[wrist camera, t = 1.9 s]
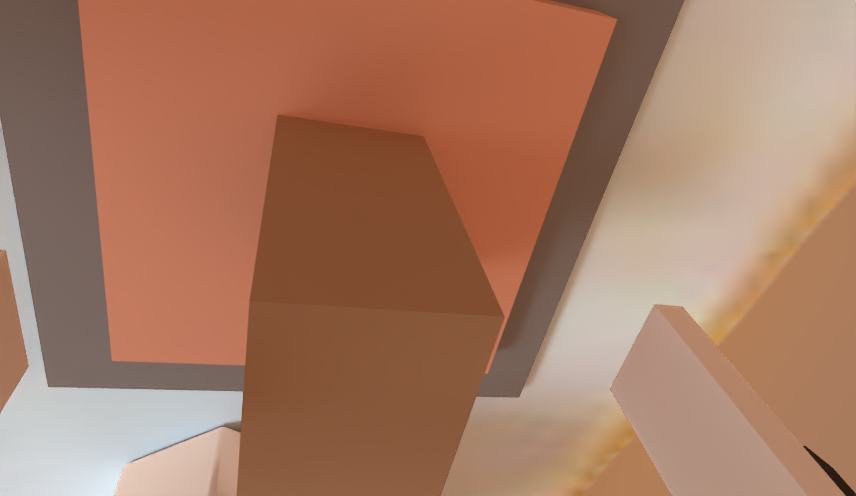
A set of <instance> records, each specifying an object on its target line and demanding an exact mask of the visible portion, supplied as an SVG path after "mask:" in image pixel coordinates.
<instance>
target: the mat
mask: <svg viewBox="0 0 856 496" xmlns="http://www.w3.org/2000/svg"><path fill="white" fill-rule="evenodd" d="M551 1H556V2H560V3H565V4H569V5H573V6H578V7H582V8H587V9H591V10H595V11H599V12H601V13H604V14H606V15H608V16H611V17H613V18H615V19H617V22H616V24H615V27H614V30H613V33H612V35H611V38H610V41H609V44H608V46H607V49H606V52H605V54H604V57H603V60H602V63H601V65H600V68H599V71H598V74H597V76H596V79H595V82H594V85H593V87H592V90H591V93H590V95H589V98H588V101H587V104H586V106H585V109H584V112H583V115H582V117H581V120H580V123H579V126H578V128H577V131H576V134H575V137H574V139H573V142H572V145H571V147H570V150H569V153H568V156H567V158H566V161H565V164H564V167H563V169H562V172H561V175H560V178H559V180H558V183H557V186H556V189H555V191H554V194H553V197H552V199H551V202H550V205H549V208H548V210H547V213H546V216H545V219H544V221H543V224H542V227H541V230H540V232H539V235H538V238H537V240H536V243H535V246H534V249H533V251H532V254H531V257H530V260H529V262H528V265H527V268H526V271H525V273H524V276H523V279H522V282H521V284H520V287H519V290H518V292H517V295H516V298H515V301H514V303H513V306H512V309H511V312H510V314H509V317H508V320H507V323H506V325H505V328H504V331H503V333H502V336H501V339H500V342H499V344H498V347H497V350H496V353H495V355H494V358H493V361H492V364H491V366H490V369H489V372H488V374H484V376H483V379H482V382H481V385H480V387H479V390H478V393H477V396H476V397H519V396H520V394H521V391H522V389H523V387H524V384H525V382H526V379H527V377H528V375H529V372H530V370H531V367H532V365H533V363H534V360H535V358H536V355H537V353H538V351H539V348H540V346H541V343H542V341H543V339H544V336H545V334H546V331H547V329H548V327H549V324H550V322H551V319H552V317H553V315H554V312H555V310H556V307H557V305H558V303H559V300H560V298H561V295H562V293H563V291H564V288H565V286H566V283H567V281H568V278H569V276H570V274H571V271H572V269H573V266H574V264H575V262H576V259H577V257H578V254H579V252H580V250H581V247H582V245H583V242H584V240H585V238H586V235H587V233H588V230H589V228H590V226H591V223H592V221H593V218H594V216H595V214H596V211H597V209H598V206H599V204H600V202H601V199H602V197H603V194H604V192H605V190H606V187H607V185H608V182H609V180H610V178H611V175H612V173H613V170H614V168H615V165H616V163H617V161H618V158H619V156H620V153H621V151H622V149H623V146H624V144H625V141H626V139H627V137H628V134H629V132H630V129H631V127H632V125H633V122H634V120H635V117H636V115H637V113H638V110H639V108H640V105H641V103H642V101H643V98H644V96H645V93H646V91H647V89H648V86H649V84H650V81H651V79H652V77H653V74H654V72H655V69H656V67H657V65H658V62H659V60H660V57H661V55H662V53H663V50H664V48H665V45H666V43H667V40H668V38H669V36H670V33H671V31H672V28H673V26H674V24H675V21H676V19H677V16H678V14H679V12H680V9H681V7H682V4H683V2H684V0H551ZM0 117H1V123H2V129H3V134H4V140H5V146H6V151H7V157H8V163H9V168H10V174H11V180H12V185H13V191H14V197H15V202H16V208H17V214H18V219H19V225H20V231H21V236H22V242H23V248H24V253H25V259H26V265H27V270H28V276H29V282H30V287H31V293H32V299H33V304H34V310H35V316H36V321H37V327H38V333H39V338H40V344H41V350H42V355H43V361H44V367H45V372H46V378H47V384H48V387H77V388H121V389H165V390H210V391H243V390H244V375H245V365H217V364H188V363H159V362H129V361H112V357H111V346H110V336H109V325H108V315H107V304H106V293H105V283H104V272H103V261H102V251H101V240H100V230H99V219H98V208H97V198H96V187H95V176H94V166H93V155H92V145H91V134H90V123H89V113H88V102H87V91H86V81H85V70H84V60H83V49H82V38H81V28H80V17H79V6H78V0H0Z"/></svg>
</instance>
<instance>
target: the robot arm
mask: <svg viewBox="0 0 856 496" xmlns="http://www.w3.org/2000/svg"><path fill="white" fill-rule="evenodd" d="M28 366H29V365H28V360H27V355H26V350H25V345H24V340H23V335H22V330H21V325H20V320H19V315H18V310H17V305H16V300H15V295H14V289H13V284H12V279H11V274H10V269H9V264H8V259H7V254H6V250H0V412H1V411H2V409H3V407H4V406H5V404H6V403H7V401H8V399H9V398H10V396H11V394H12V393H13V391H14V389H15V388H16V386H17V385H18V383H19V381H20V380H21V378H22V376H23V375H24V373H25V371H26V370H27V368H28ZM610 390H611V391H612V393H613V395H614V397H615V398H616V400H617V402H618V404H619V405H620V407H621V409H622V410H623V412H624V414H625V416H626V417H627V419H628V421H629V423H630V424H631V426H632V428H633V430H634V431H635V433H636V435H637V436H638V438H639V440H640V442H641V443H642V445H643V447H644V448H645V450H646V452H647V454H648V456H649V457H650V459H651V461H652V462H653V464H654V466H655V468H656V469H657V471H658V473H659V475H660V476H661V478H662V479H663V481H664V483H665V485H666V487H667V488H668V490H669V492H670V494H671V495H672V496H856V494H855V493H854V491H853V490H852V489H851V488H850V487H849V486H848V485H847V484H846V482H845V481H844V480H843V479H842V478H841V477H840V475H839V474H838V473H837V472H836V471H835V470H834V469H833V468H832V467H831V466H830V465H828V464H827V463H826V462H825V461H823V460H822V459H821V458H820V457H818V456H817V455H816V454H814V453H813V452H812V451H811V450H810V449H808V448H807V447H806V446H802V445H801V444H800V442H799V441H798V440H797V439H796V438H795V437H794V435H793V434H792V433H791V432H790V431H789V430H788V428H786V426H785V425H784V424H783V423H782V421H781V420H780V419H779V418H778V417H777V416H776V415H775V413H774V412H773V411H772V410H771V409H770V408H769V406H768V405H767V404H766V403H765V402H764V401H763V400H762V398H761V397H760V396H759V395H758V394H757V392H756V391H755V390H754V389H753V388H752V387H751V386H750V384H749V383H748V382H747V381H746V380H745V379H744V378H743V376H742V375H741V374H740V373H739V372H738V370H737V369H736V368H735V367H734V366H733V365H732V364H731V362H730V361H729V360H728V359H727V358H726V357H725V355H724V354H723V353H722V352H721V351H720V350H719V348H718V347H717V346H716V345H715V344H714V343H713V342H712V340H711V339H710V338H709V337H708V336H707V335H706V333H705V332H704V331H703V330H702V329H701V328H700V326H699V325H698V324H697V323H696V322H695V321H694V320H693V318H692V317H691V316H690V315H689V314H688V313H687V311H686V310H685V309H684V308H683V307H680V306H668V305H656V304H654V306H653V308H652V310H651V312H650V314H649V316H648V318H647V319H646V321H645V323H644V325H643V327H642V329H641V331H640V333H639V335H638V337H637V338H636V340H635V342H634V344H633V346H632V348H631V350H630V352H629V354H628V355H627V357H626V359H625V361H624V363H623V365H622V367H621V369H620V371H619V373H618V374H617V376H616V378H615V380H614V382H613V384H612V386H611V388H610Z"/></svg>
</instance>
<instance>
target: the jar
mask: <svg viewBox="0 0 856 496" xmlns="http://www.w3.org/2000/svg"><path fill="white" fill-rule="evenodd" d="M240 434H241V432H238V431H235V430H233V429H230V428H227V427H219V428H217V429H214V430H212V431H209V432H207V433H204V434H202V435H199V436H196V437H194V438H191V439H189V440H186V441H184V442H181V443H179V444H176V445H174V446H171V447H168V448H166V449H163V450H161V451H158V452H156V453H153V454H151V455H148V456H146V457H143V458H140V459H138V460H135V461H133V462H130V463H128V464H126V465H125V466H124V467H123V469H122V472H121V475H120V478H119V481H118V484H117V487H116V490H115V493H114V496H236V494H237V479H238V464H239V449H240Z"/></svg>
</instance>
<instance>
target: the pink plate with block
mask: <svg viewBox="0 0 856 496" xmlns="http://www.w3.org/2000/svg"><path fill="white" fill-rule="evenodd" d="M78 6H79V17H80V28H81V38H82V49H83V60H84V70H85V81H86V91H87V102H88V113H89V123H90V134H91V145H92V155H93V166H94V176H95V187H96V198H97V208H98V219H99V230H100V240H101V251H102V261H103V272H104V283H105V293H106V304H107V315H108V325H109V336H110V346H111V357H112V361H129V362H159V363H188V364H217V365H245V375H244V390H243V405H242V420H241V434H240V449H239V464H238V479H237V494H236V496H440V495H441V492H442V490H443V487H444V484H445V481H446V479H447V476H448V473H449V470H450V468H451V465H452V462H453V459H454V456H455V454H456V451H457V448H458V445H459V443H460V440H461V437H462V434H463V432H464V429H465V426H466V423H467V421H468V418H469V415H470V412H471V409H472V407H473V404H474V401H475V398H476V396H477V393H478V390H479V387H480V385H481V382H482V379H483V376H484V374H488V372H489V369H490V366H491V364H492V361H493V358H494V355H495V353H496V350H497V347H498V344H499V342H500V339H501V336H502V333H503V331H504V328H505V325H506V323H507V320H508V317H509V314H510V312H511V309H512V306H513V303H514V301H515V298H516V295H517V292H518V290H519V287H520V284H521V282H522V279H523V276H524V273H525V271H526V268H527V265H528V262H529V260H530V257H531V254H532V251H533V249H534V246H535V243H536V240H537V238H538V235H539V232H540V230H541V227H542V224H543V221H544V219H545V216H546V213H547V210H548V208H549V205H550V202H551V199H552V197H553V194H554V191H555V189H556V186H557V183H558V180H559V178H560V175H561V172H562V169H563V167H564V164H565V161H566V158H567V156H568V153H569V150H570V147H571V145H572V142H573V139H574V137H575V134H576V131H577V128H578V126H579V123H580V120H581V117H582V115H583V112H584V109H585V106H586V104H587V101H588V98H589V95H590V93H591V90H592V87H593V85H594V82H595V79H596V76H597V74H598V71H599V68H600V65H601V63H602V60H603V57H604V54H605V52H606V49H607V46H608V44H609V41H610V38H611V35H612V33H613V30H614V27H615V24H616V22H617V19H615V18H613V17H611V16H608V15H606V14H604V13H601V12H599V11H595V10H591V9H587V8H582V7H578V6H573V5H569V4H565V3H560V2H556V1H551V0H78Z"/></svg>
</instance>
